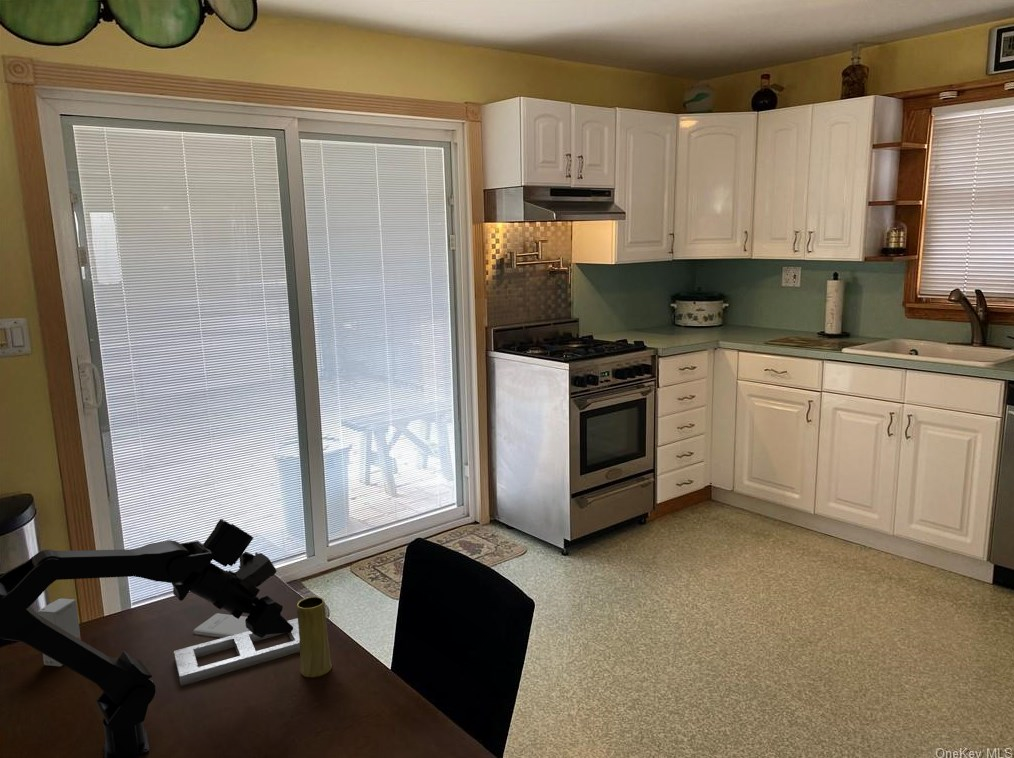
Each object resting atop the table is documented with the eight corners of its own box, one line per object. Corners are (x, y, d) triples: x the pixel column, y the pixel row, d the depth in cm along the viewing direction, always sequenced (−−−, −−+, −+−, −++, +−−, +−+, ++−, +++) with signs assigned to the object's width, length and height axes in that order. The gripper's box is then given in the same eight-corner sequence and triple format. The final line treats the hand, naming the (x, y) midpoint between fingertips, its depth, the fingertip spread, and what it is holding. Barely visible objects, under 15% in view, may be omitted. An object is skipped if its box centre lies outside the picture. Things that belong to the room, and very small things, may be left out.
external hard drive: (241, 643, 158) (193, 636, 162) (264, 624, 166) (218, 618, 170) (241, 636, 158) (193, 629, 162) (264, 617, 166) (217, 611, 169)
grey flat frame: (314, 647, 154) (314, 638, 154) (180, 686, 142) (179, 676, 142) (301, 625, 164) (300, 617, 164) (174, 659, 151) (173, 650, 151)
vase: (293, 673, 145) (287, 606, 143) (315, 658, 150) (309, 592, 148) (317, 681, 142) (311, 612, 140) (338, 665, 147) (333, 598, 145)
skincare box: (61, 667, 150) (53, 612, 148) (43, 665, 151) (35, 611, 149) (83, 651, 156) (76, 598, 154) (66, 650, 157) (59, 597, 155)
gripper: (266, 561, 127) (329, 599, 136) (225, 533, 141) (285, 569, 150) (225, 619, 123) (293, 655, 132) (187, 585, 137) (251, 619, 146)
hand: (281, 621), depth 140 cm, fingers open, 9 cm apart
